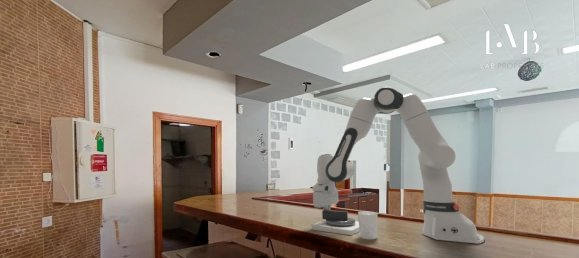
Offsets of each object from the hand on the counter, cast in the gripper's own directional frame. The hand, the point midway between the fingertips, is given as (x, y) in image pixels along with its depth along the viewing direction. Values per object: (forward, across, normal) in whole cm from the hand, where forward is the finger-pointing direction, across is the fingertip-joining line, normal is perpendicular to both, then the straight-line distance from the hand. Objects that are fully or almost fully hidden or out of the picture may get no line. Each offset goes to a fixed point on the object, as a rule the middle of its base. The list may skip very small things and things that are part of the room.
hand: (327, 214), depth 139 cm
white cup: (+6, +10, +24) cm, 27 cm away
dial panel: (+6, 0, +7) cm, 9 cm away
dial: (+3, +1, +7) cm, 7 cm away
